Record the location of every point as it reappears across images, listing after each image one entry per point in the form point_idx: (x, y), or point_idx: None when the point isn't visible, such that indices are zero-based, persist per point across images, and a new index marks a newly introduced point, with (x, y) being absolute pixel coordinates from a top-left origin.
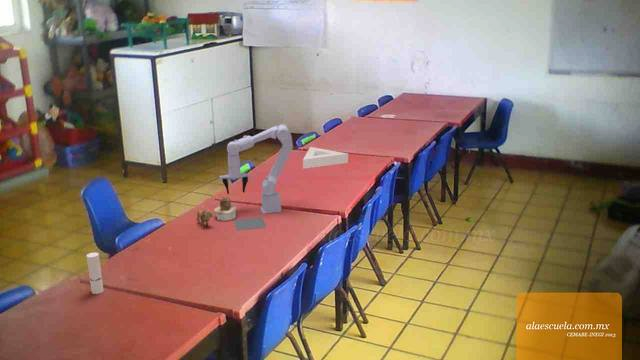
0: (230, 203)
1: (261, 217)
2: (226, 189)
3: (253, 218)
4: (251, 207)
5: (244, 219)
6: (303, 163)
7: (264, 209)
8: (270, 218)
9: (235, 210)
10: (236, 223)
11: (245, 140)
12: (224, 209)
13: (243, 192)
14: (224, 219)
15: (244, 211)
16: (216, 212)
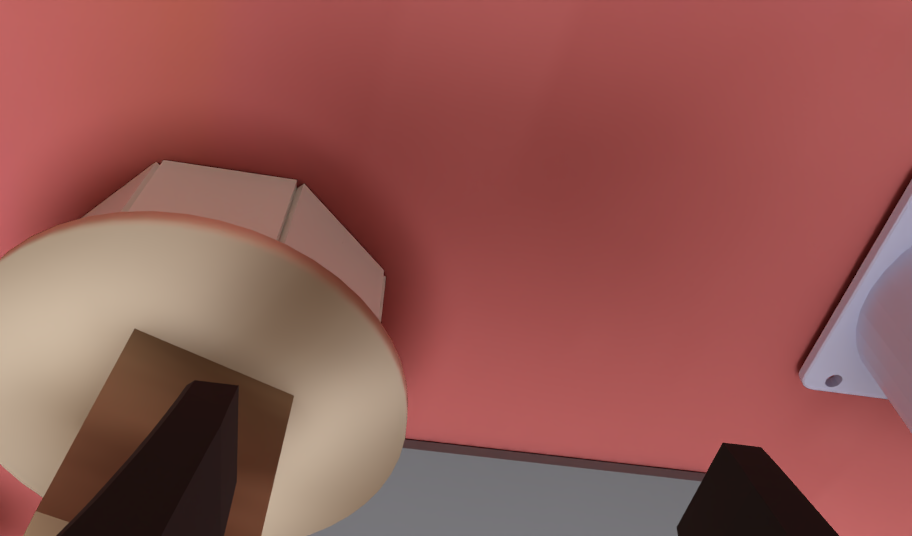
0: (275, 469)
1: (692, 488)
2: (124, 469)
3: (584, 482)
4: (831, 5)
5: (463, 469)
6: None
7: (875, 375)
8: None
9: (349, 513)
10: (330, 530)
11: None
12: None
13: (686, 533)
14: None
15: (603, 158)
16: (10, 461)
